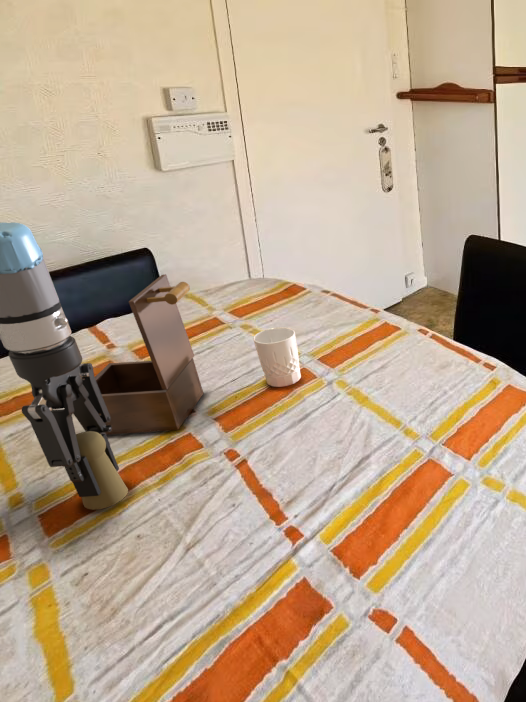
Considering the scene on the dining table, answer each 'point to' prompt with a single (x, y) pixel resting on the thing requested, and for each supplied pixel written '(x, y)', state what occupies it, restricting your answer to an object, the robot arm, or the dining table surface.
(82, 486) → the robot arm
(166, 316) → the lid
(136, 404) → the chest
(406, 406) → the dining table surface
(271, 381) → the white cup
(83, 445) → the cork
